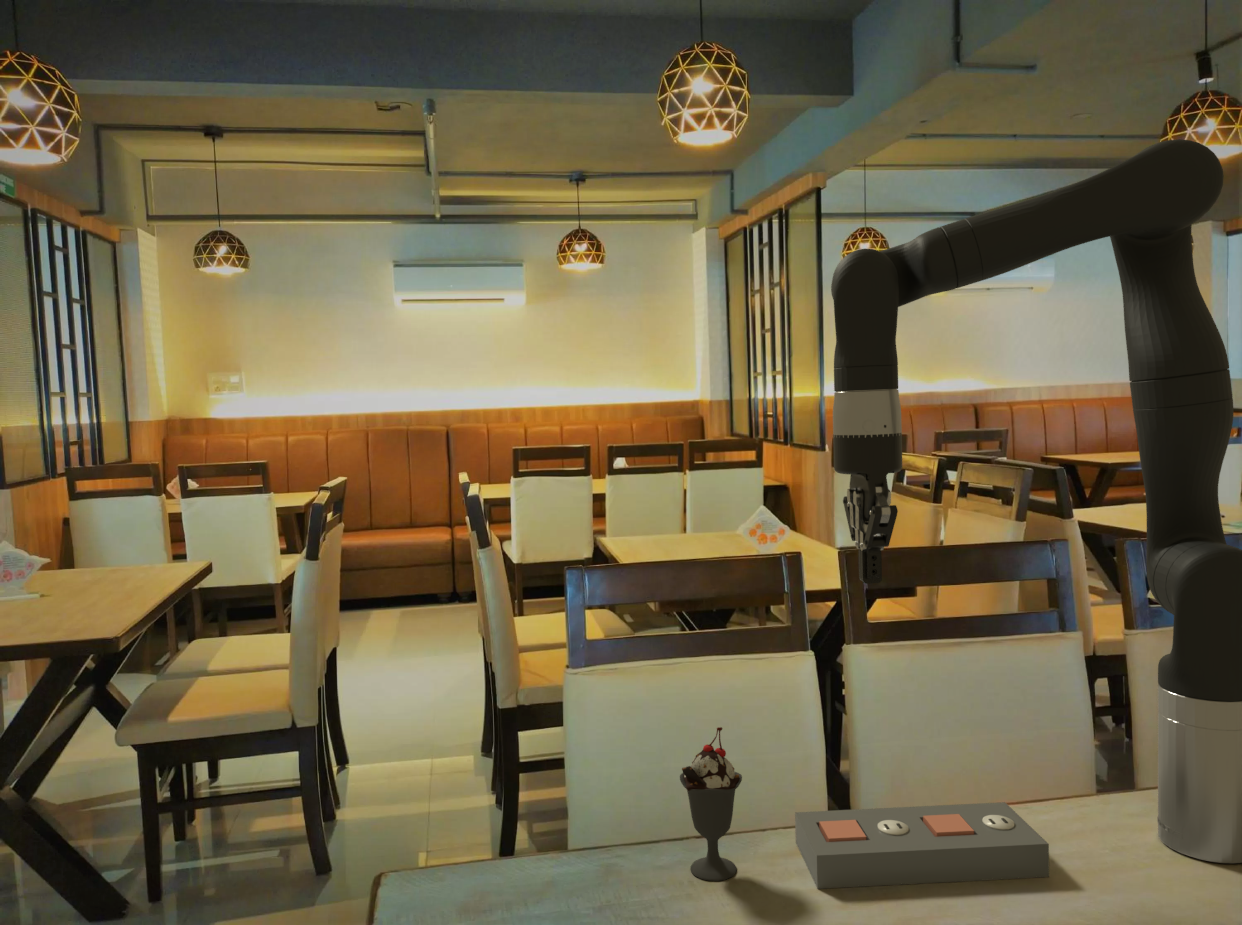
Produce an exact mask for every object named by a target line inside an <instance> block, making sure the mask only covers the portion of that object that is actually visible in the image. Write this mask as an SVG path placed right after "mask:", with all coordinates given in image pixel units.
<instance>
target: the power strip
mask: <svg viewBox="0 0 1242 925" xmlns="http://www.w3.org/2000/svg"><path fill="white" fill-rule="evenodd" d="M949 814H959V815H960V816H961V817H962V818H963V819H964V820H965V821H966V822H967V823H968V825H969V826H970V827H971V828H972V829H973V830H974V835H960V836H940V837H935V836H934V835H933V834H932V832H931V831H930V830H929V829H928V827H927V826H926V825H925V824H924V823H923V816H928V815H949ZM794 817H795V818H794V825H795V826H794V829H795V831H794V832H795V844H796V847H797V848H798V851H799V852H800V855H801V857H802V859H803V861H804V863H805V866H806V867H807V870H808V872H809V874H810V876H811V878H812V880H813V882H814V884H815V886H816V889H818V890H819V889H837V888H840V889H841V888H842V889H843V888H857V887H859V888H860V887H861V888H862V887H877V886H878V887H881V886H899V885H914V884H915V885H916V884H917V885H918V884H937V883H938V884H939V883H955V882H956V883H957V882H975V881H976V882H978V881H994V880H1011V879H1014V880H1015V879H1033V878H1049V877H1050V861H1049V860H1050V854H1049V853H1050V848H1049V846H1050V843H1048V842H1047V841H1046V840H1045V838H1043V837H1042V836H1041V835H1040V834H1039V833H1038V832H1037V831H1036V830H1035V829H1034V828H1032V826H1031V825H1030V824H1028V823H1027V821H1025V820H1024V819H1023V817H1021V816H1020V815H1019V814H1018V813H1017V812H1016V811H1015V810H1014V809H1013V808H1012V807H1010V805H1008V803H1007V802H1005V801H1004V802H1003V801H1001V802H980V803H978V802H977V803H960V804H959V803H958V804H943V805H937V804H935V805H921V806H919V805H918V806H900V807H899V806H897V807H880V808H879V807H878V808H877V807H876V808H861V809H859V808H858V809H855V808H854V809H838V810H817V811H816V810H815V811H798V812H794ZM840 820H856V822H857V823H858V825H859V826H860V828H861V829H862V831H863V832H864V834H865V835H866V840H860V841H840V842H826V840H825V838H824V837H823V835H822V833H821V831H820V829H819V822H820V821H840Z"/></svg>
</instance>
